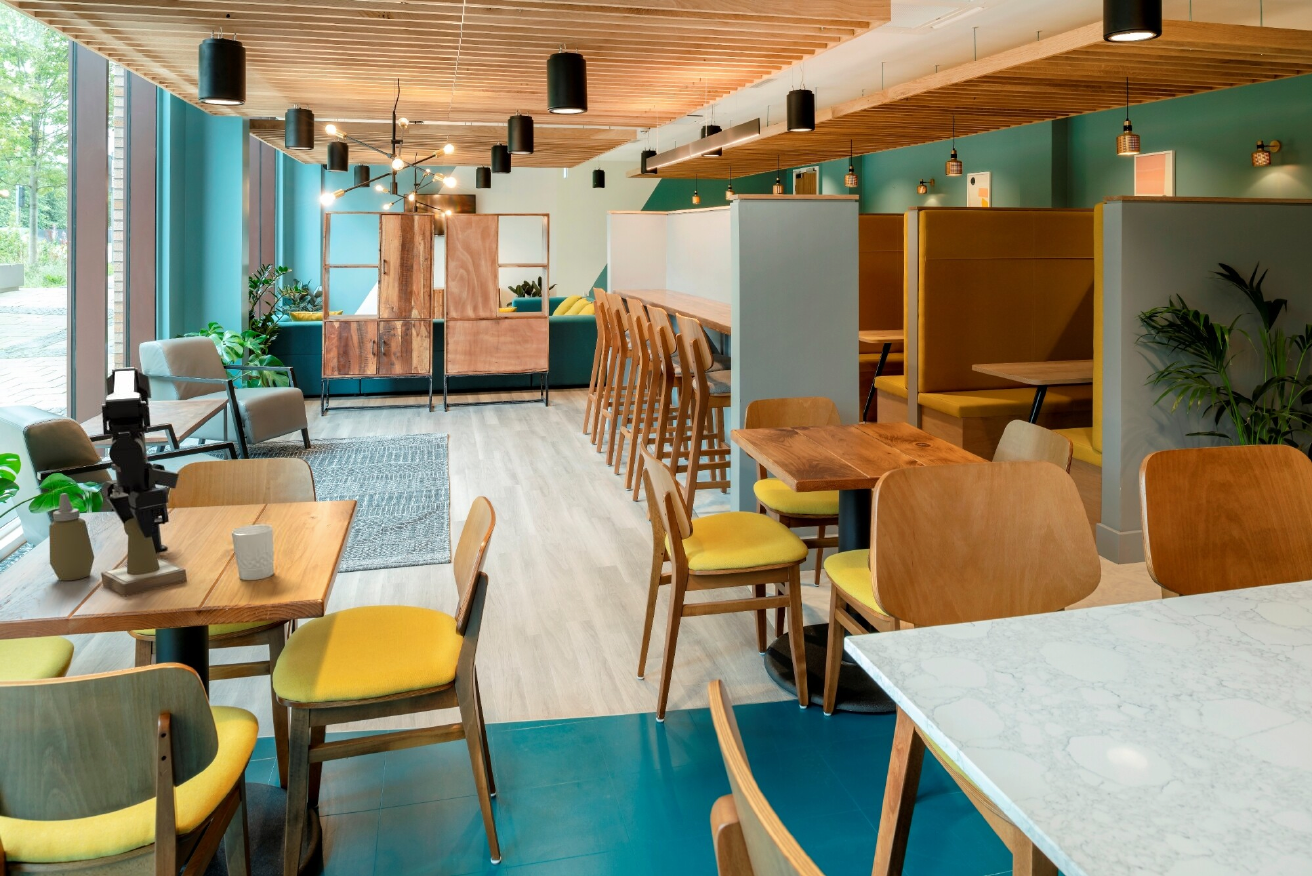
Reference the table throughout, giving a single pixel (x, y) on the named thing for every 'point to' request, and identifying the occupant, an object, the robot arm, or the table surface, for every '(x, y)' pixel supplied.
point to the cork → (139, 550)
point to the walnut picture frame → (143, 578)
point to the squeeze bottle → (69, 543)
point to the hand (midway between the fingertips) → (139, 533)
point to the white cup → (254, 551)
